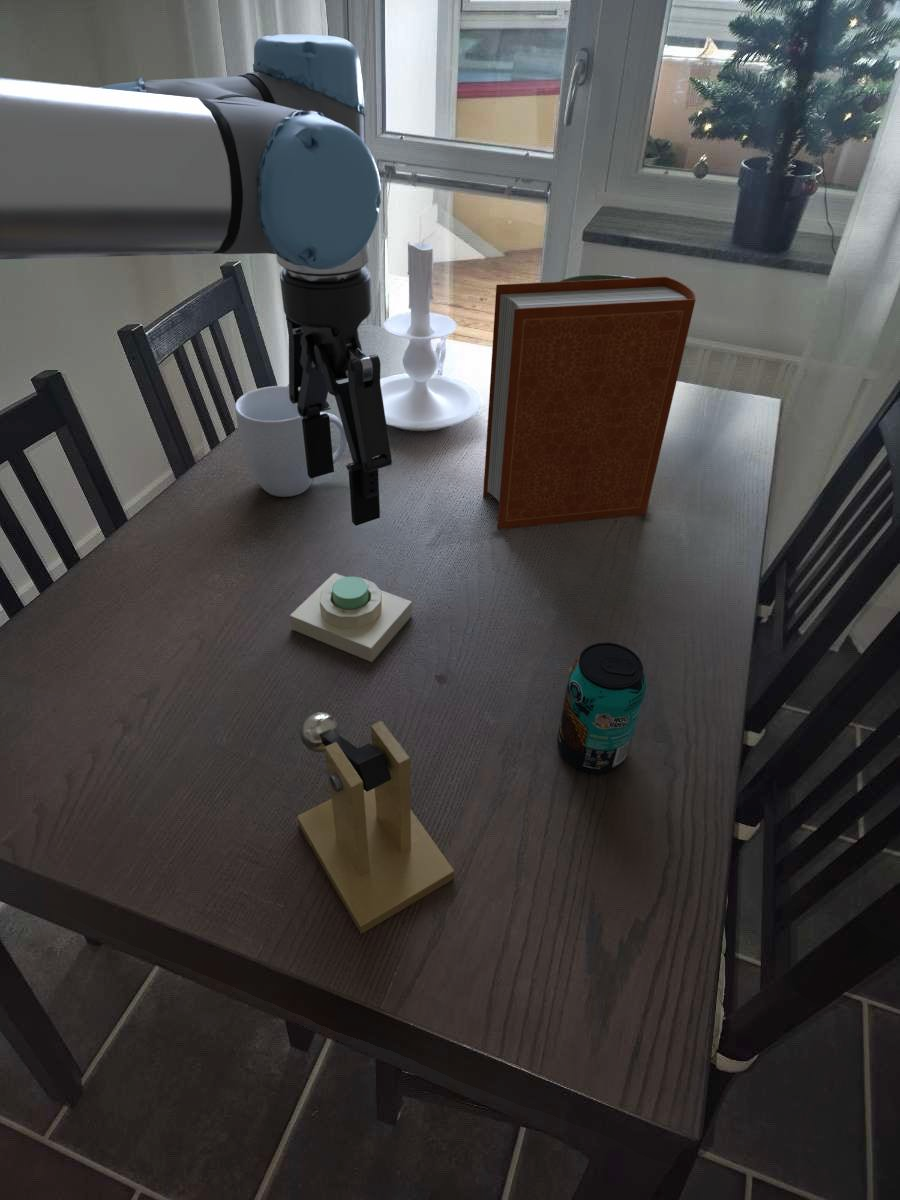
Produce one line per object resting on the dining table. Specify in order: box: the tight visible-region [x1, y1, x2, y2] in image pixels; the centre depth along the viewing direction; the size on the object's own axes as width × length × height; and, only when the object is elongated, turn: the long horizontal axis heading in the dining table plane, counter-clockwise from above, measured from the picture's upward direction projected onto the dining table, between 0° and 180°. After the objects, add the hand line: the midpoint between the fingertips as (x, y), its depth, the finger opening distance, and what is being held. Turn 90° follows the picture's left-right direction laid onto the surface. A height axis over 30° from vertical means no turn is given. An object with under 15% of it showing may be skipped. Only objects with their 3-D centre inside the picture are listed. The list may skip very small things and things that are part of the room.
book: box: [482, 276, 697, 530], centre depth 99 cm, size 23×8×30 cm, turn 102°
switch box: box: [289, 572, 413, 663], centre depth 88 cm, size 11×9×4 cm
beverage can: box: [556, 642, 648, 774], centre depth 72 cm, size 7×7×12 cm
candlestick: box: [380, 238, 483, 432], centre depth 121 cm, size 21×25×28 cm
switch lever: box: [299, 711, 391, 792], centre depth 64 cm, size 14×4×4 cm
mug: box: [234, 385, 348, 498], centre depth 107 cm, size 15×11×13 cm
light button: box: [332, 575, 368, 610], centre depth 86 cm, size 4×4×2 cm
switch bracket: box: [296, 720, 455, 935], centre depth 62 cm, size 12×9×14 cm
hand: (342, 495), depth 78 cm, fingers open, 9 cm apart
